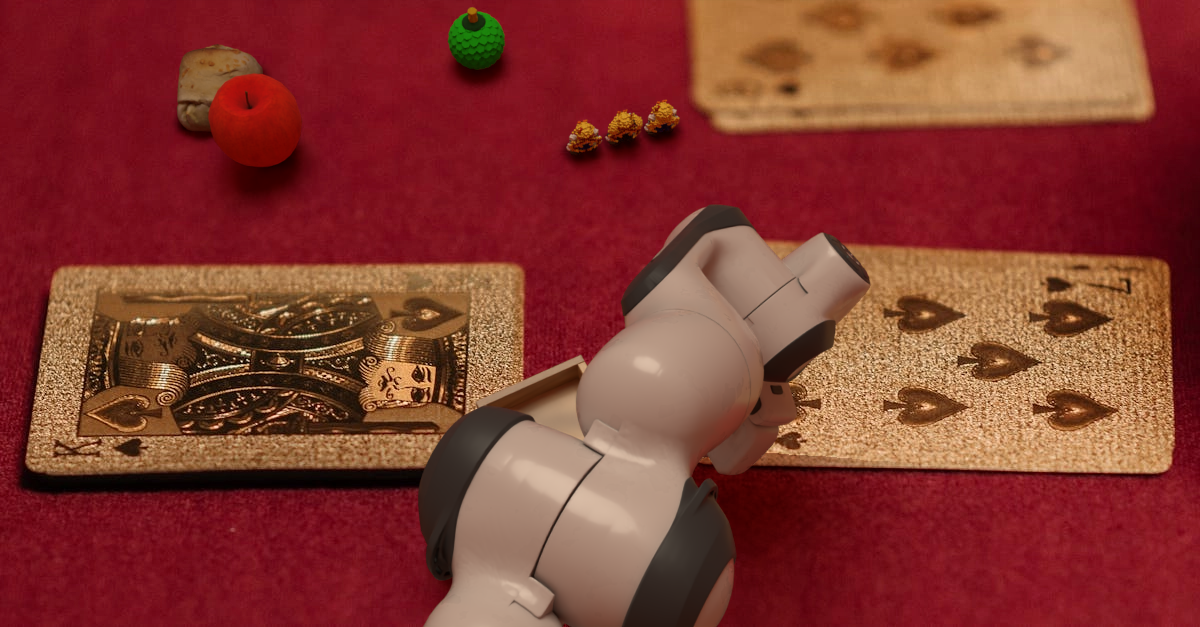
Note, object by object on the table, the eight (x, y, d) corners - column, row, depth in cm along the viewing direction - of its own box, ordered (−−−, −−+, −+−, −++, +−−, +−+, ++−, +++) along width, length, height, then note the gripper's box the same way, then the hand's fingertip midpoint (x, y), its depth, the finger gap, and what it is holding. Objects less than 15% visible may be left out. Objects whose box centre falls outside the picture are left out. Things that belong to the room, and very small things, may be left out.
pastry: (244, 50, 161) (227, 11, 154) (287, 101, 156) (272, 62, 149) (158, 97, 157) (137, 58, 150) (200, 150, 152) (180, 113, 145)
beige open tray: (623, 447, 104) (623, 432, 101) (517, 497, 102) (514, 483, 98) (582, 371, 108) (581, 354, 105) (479, 417, 106) (475, 401, 102)
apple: (257, 205, 147) (227, 143, 136) (212, 153, 152) (178, 89, 140) (330, 158, 151) (306, 94, 140) (283, 109, 156) (256, 43, 144)
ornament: (512, 75, 158) (506, 25, 150) (458, 86, 157) (449, 37, 149) (500, 35, 162) (494, -16, 153) (447, 46, 161) (437, -4, 152)
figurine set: (683, 138, 152) (685, 108, 147) (571, 168, 150) (569, 138, 144) (674, 120, 154) (677, 89, 148) (564, 149, 152) (562, 119, 146)
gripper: (677, 274, 118) (597, 351, 125) (774, 429, 109) (683, 504, 115) (710, 280, 123) (631, 354, 129) (805, 429, 114) (716, 500, 120)
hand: (656, 426), depth 122 cm, fingers open, 8 cm apart
